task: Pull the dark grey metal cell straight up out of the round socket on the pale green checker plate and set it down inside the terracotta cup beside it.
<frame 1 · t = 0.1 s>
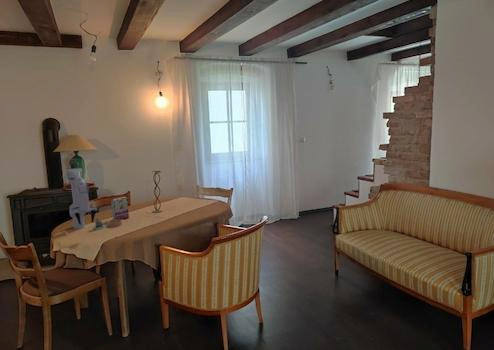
hand: (86, 223, 239), 10 cm above the table, tool pointing down, fingers open, 7 cm apart
checker: (99, 229, 261), on the table
cell: (99, 227, 261), point 1 cm above the table, touching checker
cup: (115, 226, 267), on the table
candy bar box: (120, 219, 286), on the table
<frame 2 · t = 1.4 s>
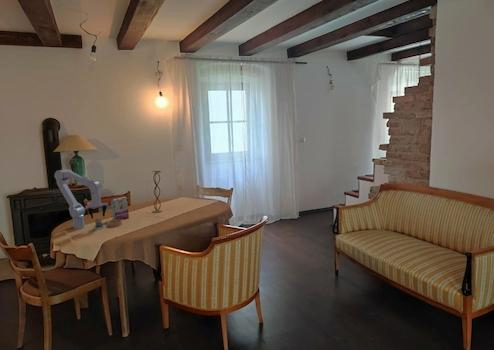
hand: (98, 217, 259), 9 cm above the table, tool pointing down, fingers open, 7 cm apart
nothing on the table moved.
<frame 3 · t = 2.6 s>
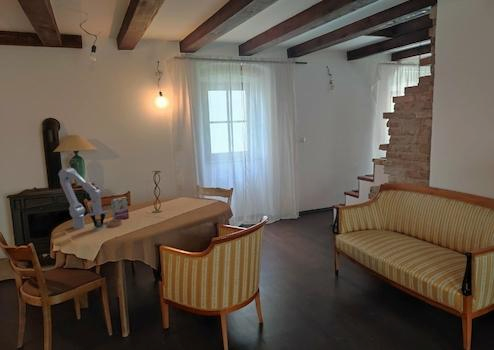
hand: (98, 225, 260), 3 cm above the table, tool pointing down, fingers closed on cell, 4 cm apart
cell: (99, 227, 261), point 1 cm above the table, touching checker, gripper
everything else where it was.
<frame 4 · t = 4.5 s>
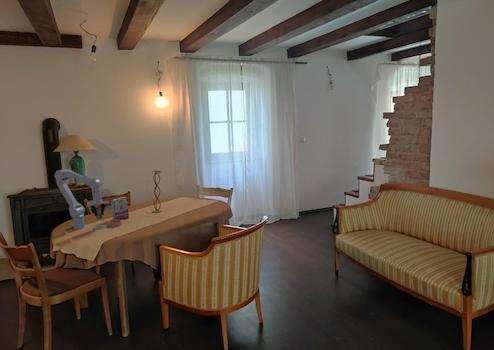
hand: (99, 215, 260), 10 cm above the table, tool pointing down, fingers closed on cell, 4 cm apart
cell: (99, 218, 260), point 8 cm above the table, touching gripper
everything else where it was.
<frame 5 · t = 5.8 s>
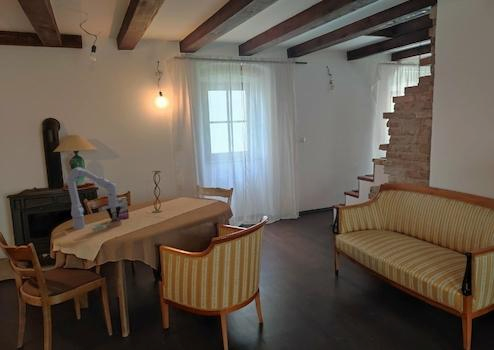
hand: (114, 217, 266), 6 cm above the table, tool pointing down, fingers closed on cell, 4 cm apart
cell: (114, 220, 266), point 4 cm above the table, touching gripper
everything else where it was.
when the fingers open (4 cm above the table, at t = 6.5 s): cell drops 2 cm, resting on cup.
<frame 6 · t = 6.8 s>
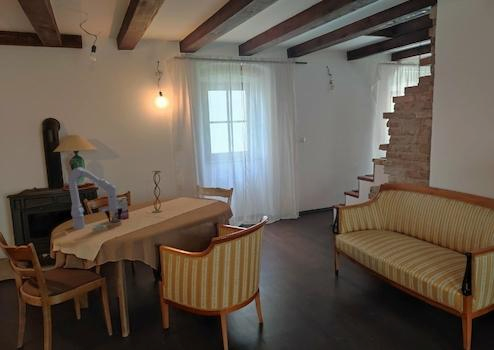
hand: (114, 220, 266), 4 cm above the table, tool pointing down, fingers open, 6 cm apart
cell: (115, 225, 267), point 1 cm above the table, touching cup
everything else where it was.
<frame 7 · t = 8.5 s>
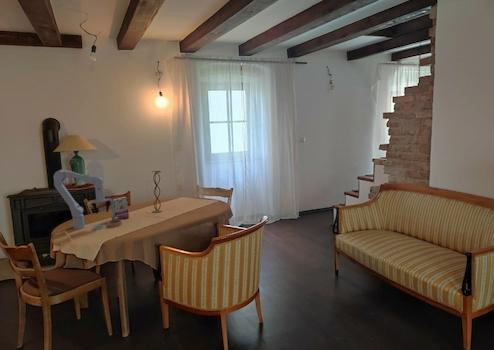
hand: (101, 212, 265), 10 cm above the table, tool pointing down, fingers open, 7 cm apart
nothing on the table moved.
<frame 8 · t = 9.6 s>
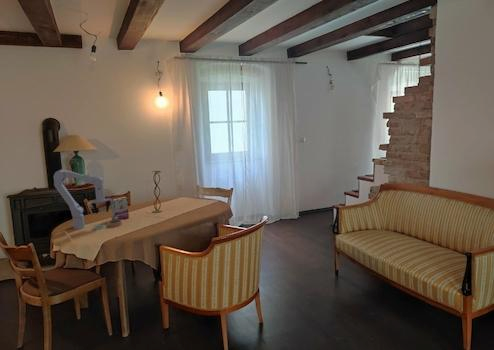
hand: (101, 212, 265), 10 cm above the table, tool pointing down, fingers open, 7 cm apart
nothing on the table moved.
at the end: cell 0.2 cm off-centre on the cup, point 0.6 cm above the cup's base; the gripper is holding nothing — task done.
